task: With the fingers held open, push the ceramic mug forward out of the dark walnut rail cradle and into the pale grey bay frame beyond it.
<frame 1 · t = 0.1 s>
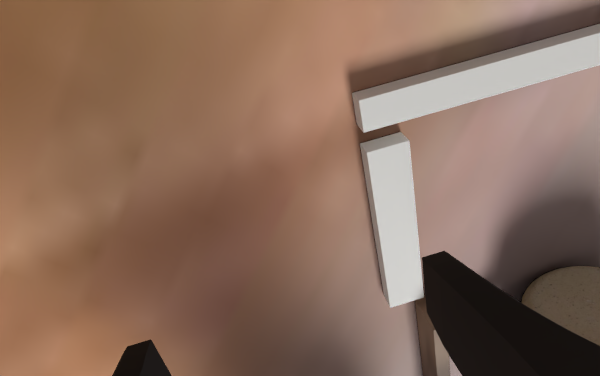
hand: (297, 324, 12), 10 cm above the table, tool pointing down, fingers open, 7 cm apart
walnut cradle: (530, 317, 30), on the table
grey bay: (542, 177, 24), on the table
ceramic mug: (526, 314, 30), on the table
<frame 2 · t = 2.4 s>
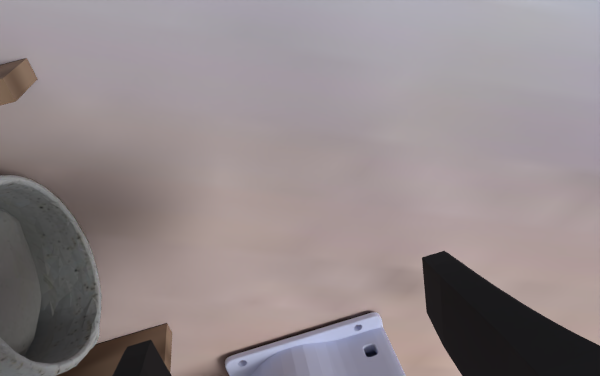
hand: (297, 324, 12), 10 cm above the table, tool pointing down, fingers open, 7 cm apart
walnut cradle: (3, 253, 21), on the table
ceramic mug: (14, 259, 21), on the table
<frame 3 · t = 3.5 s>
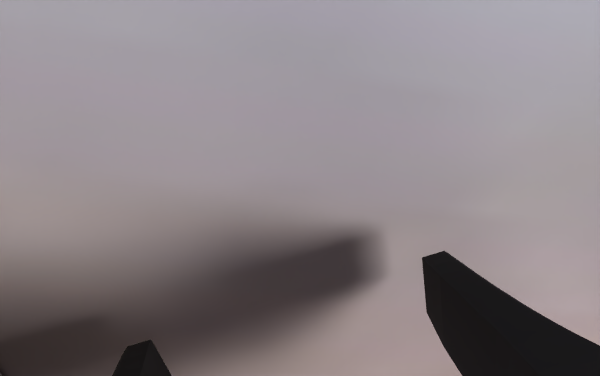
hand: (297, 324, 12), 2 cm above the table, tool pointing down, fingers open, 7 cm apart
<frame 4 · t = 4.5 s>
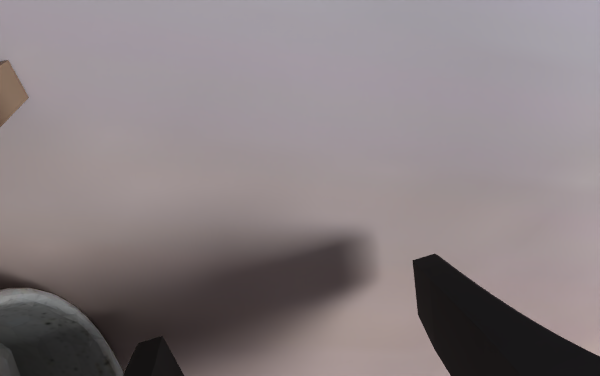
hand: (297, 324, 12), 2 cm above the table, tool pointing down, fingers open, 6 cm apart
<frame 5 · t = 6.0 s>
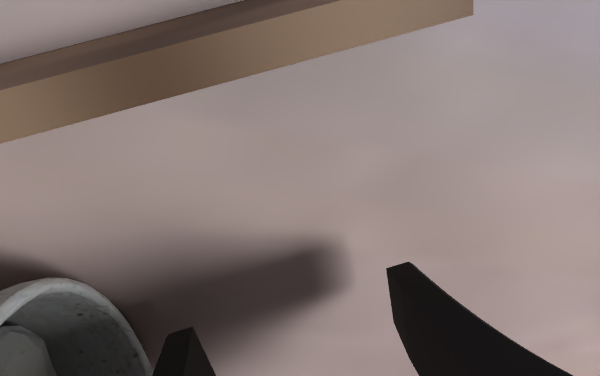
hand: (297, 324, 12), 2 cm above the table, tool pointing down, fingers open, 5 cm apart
walnut cradle: (271, 286, 13), on the table
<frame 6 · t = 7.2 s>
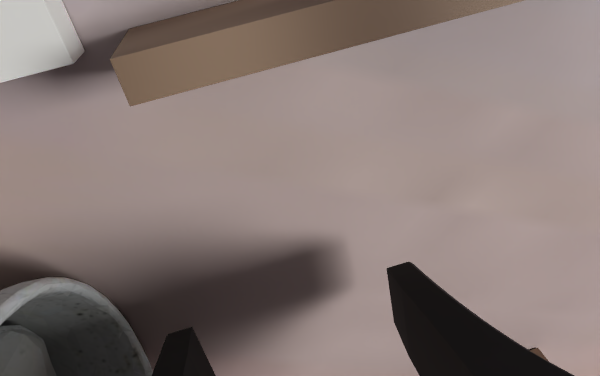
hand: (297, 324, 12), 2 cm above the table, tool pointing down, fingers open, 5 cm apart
walnut cradle: (397, 247, 14), on the table
grey bay: (28, 358, 13), on the table
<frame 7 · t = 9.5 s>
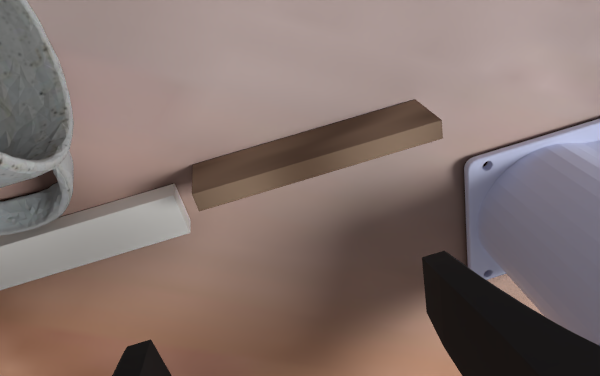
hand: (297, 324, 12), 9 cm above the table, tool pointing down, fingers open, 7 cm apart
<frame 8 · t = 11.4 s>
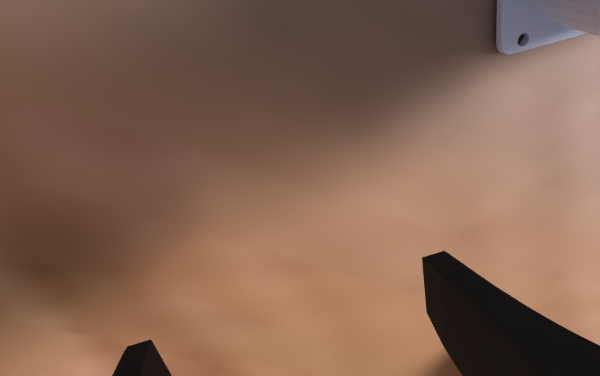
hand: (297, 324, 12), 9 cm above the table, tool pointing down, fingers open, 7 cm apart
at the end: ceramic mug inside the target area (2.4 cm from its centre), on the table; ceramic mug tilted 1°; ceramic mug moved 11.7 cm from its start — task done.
